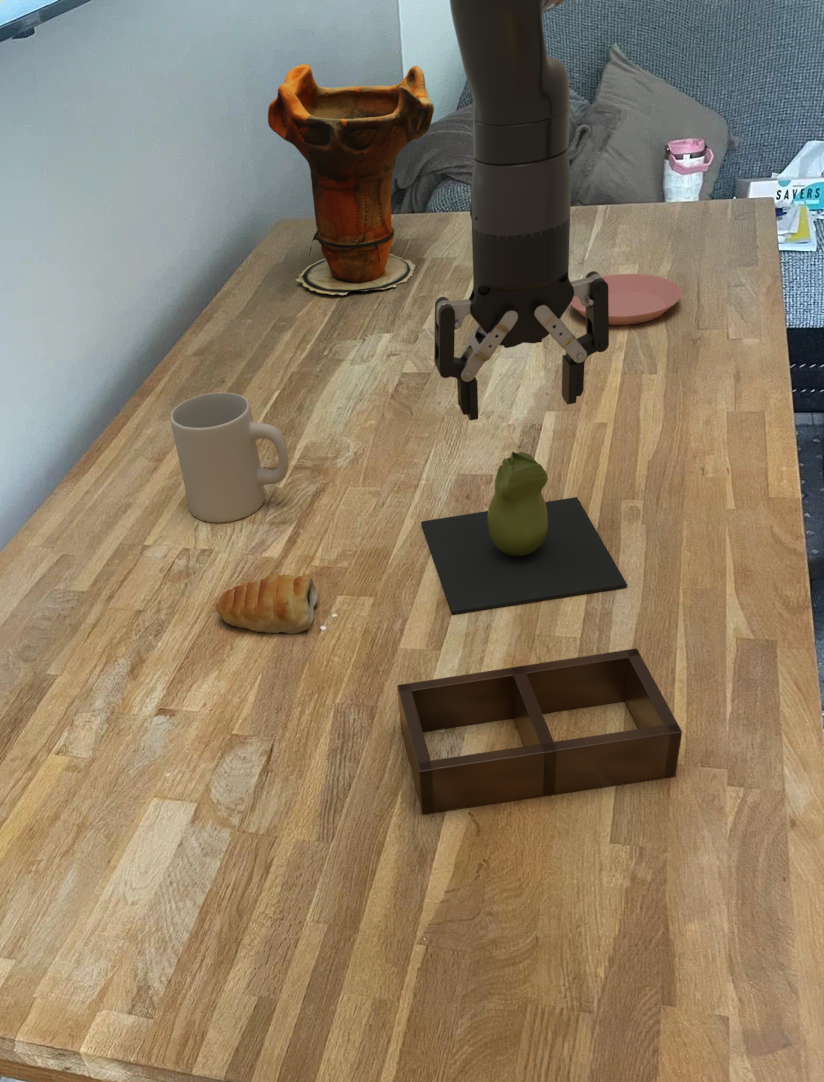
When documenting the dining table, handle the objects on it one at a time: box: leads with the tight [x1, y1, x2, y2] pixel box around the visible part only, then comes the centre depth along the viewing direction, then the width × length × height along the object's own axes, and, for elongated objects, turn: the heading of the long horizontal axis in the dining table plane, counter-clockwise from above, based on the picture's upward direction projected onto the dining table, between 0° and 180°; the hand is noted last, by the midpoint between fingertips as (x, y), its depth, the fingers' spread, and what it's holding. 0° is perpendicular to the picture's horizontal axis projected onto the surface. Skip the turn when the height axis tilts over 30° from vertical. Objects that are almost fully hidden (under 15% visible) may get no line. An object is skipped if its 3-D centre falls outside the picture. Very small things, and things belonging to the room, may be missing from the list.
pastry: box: [215, 573, 319, 634], centre depth 102 cm, size 9×7×4 cm
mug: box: [170, 391, 289, 524], centre depth 116 cm, size 12×8×11 cm
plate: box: [569, 273, 683, 326], centre depth 144 cm, size 14×14×2 cm
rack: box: [396, 648, 683, 815], centre depth 83 cm, size 19×10×4 cm, turn 95°
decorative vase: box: [267, 63, 435, 296], centre depth 157 cm, size 21×23×28 cm
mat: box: [420, 496, 628, 615], centre depth 105 cm, size 16×16×1 cm
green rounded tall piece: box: [487, 451, 549, 556], centre depth 102 cm, size 6×5×10 cm
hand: (520, 408), depth 95 cm, fingers open, 8 cm apart
